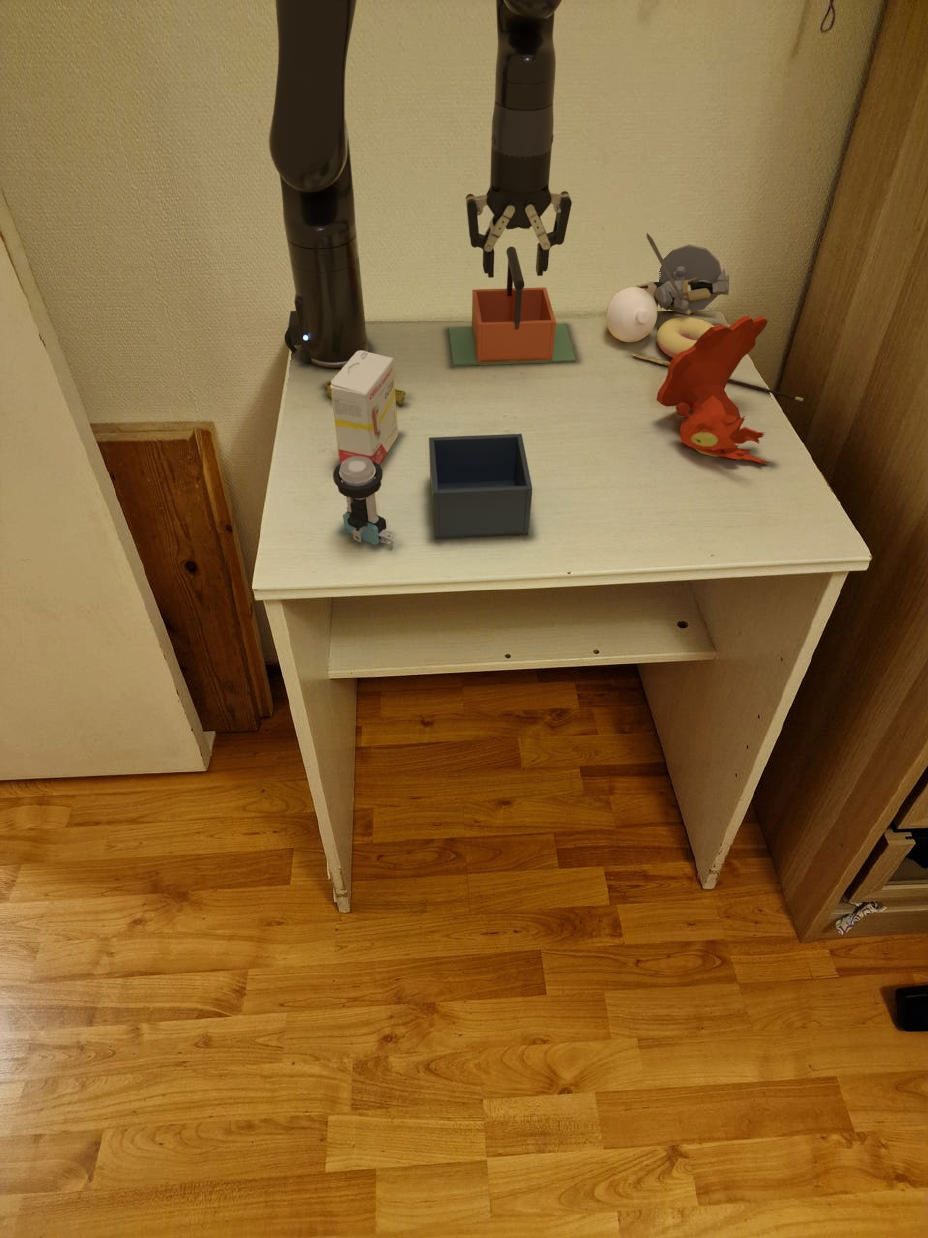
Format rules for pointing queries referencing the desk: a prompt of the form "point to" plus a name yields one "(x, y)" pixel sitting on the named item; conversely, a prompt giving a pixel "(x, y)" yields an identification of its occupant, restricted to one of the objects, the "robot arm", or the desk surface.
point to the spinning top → (631, 314)
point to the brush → (728, 380)
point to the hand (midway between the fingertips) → (514, 273)
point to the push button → (362, 499)
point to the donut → (680, 334)
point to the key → (398, 393)
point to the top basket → (513, 320)
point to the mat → (466, 356)
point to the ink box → (365, 407)
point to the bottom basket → (479, 486)
